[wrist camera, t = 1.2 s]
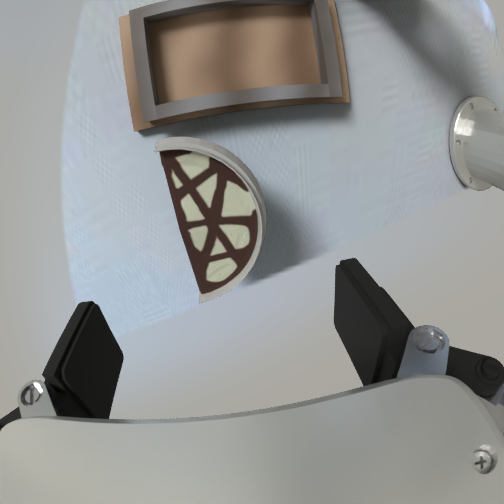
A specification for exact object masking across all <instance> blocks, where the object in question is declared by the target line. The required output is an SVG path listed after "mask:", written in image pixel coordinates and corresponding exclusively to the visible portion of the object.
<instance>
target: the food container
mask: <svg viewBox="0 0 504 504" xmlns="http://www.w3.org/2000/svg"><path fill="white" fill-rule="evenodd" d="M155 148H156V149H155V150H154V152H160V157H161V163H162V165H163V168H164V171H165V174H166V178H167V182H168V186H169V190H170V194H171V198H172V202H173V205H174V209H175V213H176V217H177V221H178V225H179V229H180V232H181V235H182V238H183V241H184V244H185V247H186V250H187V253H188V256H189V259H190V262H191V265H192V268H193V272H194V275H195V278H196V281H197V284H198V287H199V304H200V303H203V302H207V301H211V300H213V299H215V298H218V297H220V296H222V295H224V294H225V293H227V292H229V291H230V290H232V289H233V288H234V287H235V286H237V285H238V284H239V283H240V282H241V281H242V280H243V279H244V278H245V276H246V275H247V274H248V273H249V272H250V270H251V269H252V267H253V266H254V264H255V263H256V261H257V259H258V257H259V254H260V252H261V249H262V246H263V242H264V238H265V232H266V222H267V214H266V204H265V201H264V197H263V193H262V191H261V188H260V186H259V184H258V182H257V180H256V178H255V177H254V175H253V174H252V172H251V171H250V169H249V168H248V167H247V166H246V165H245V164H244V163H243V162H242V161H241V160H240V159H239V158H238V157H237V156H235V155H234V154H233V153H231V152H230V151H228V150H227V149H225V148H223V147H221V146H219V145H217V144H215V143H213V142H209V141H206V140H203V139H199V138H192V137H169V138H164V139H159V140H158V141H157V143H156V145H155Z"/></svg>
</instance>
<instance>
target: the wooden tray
mask: <svg viewBox="0 0 504 504" xmlns="http://www.w3.org/2000/svg"><path fill="white" fill-rule="evenodd" d="M119 25H120V36H121V46H122V55H123V64H124V71H125V79H126V86H127V92H128V99H129V105H130V111H131V117H132V122H133V128H134V132H135V131H139V130H143V129H147V128H151V127H155V126H159V125H164V124H168V123H173V122H177V121H182V120H187V119H192V118H197V117H203V116H208V115H214V114H220V113H227V112H233V111H240V110H248V109H256V108H265V107H275V106H286V105H300V104H318V103H350V99H349V89H348V81H347V73H346V65H345V58H344V51H343V45H342V39H341V33H340V27H339V22H338V17H337V12H336V7H335V2H334V0H167V1H163V2H159V3H155V4H151V5H147V6H144V7H140V8H137V9H133V10H130V11H129V14H128V15H125V16H122V17H119Z"/></svg>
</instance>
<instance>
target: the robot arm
mask: <svg viewBox="0 0 504 504" xmlns="http://www.w3.org/2000/svg"><path fill="white" fill-rule="evenodd" d="M449 147H450V156H451V160H452V164H453V167H454V170H455V172H456V174H457V176H458V178H459V179H460V180H461V181H462V183H464V184H465V185H466V186H467V187H470V188H472V189H474V190H478V191H481V190H486V189H488V188H490V187H491V186H495V187H497V188H499V189H502V190H504V112H500V111H499V109H498V108H497V107H496V106H495V104H494V103H493V102H491V101H490V100H489V99H487V98H484V97H479V96H473V97H469V98H467V99H465V100H464V101H463V102H462V103H461V104H460V105H459V106H458V108H457V109H456V112H455V114H454V116H453V119H452V123H451V128H450V136H449ZM334 324H335V328H336V330H337V332H338V334H339V336H340V338H341V340H342V342H343V344H344V346H345V348H346V350H347V352H348V354H349V356H350V358H351V360H352V362H353V365H354V367H355V369H356V371H357V373H358V375H359V377H360V379H361V381H362V383H363V387H360V388H356V389H352V390H348V391H345V392H340V393H337V394H332V395H329V396H324V397H320V398H315V399H311V400H307V401H303V402H297V403H293V404H287V405H282V406H277V407H271V408H266V409H259V410H253V411H247V412H239V413H231V414H223V415H214V416H203V417H190V418H176V419H147V420H146V419H145V420H144V419H143V420H125V419H123V420H122V419H109V415H110V411H111V406H112V403H113V398H114V394H115V390H116V386H117V382H118V378H119V374H120V371H121V367H122V363H123V353H122V351H121V349H120V347H119V345H118V343H117V341H116V339H115V337H114V336H113V334H112V332H111V330H110V328H109V326H108V324H107V322H106V320H105V318H104V316H103V314H102V312H101V310H100V307H99V306H98V305H97V304H95V303H94V302H93V301H88V302H81V303H79V304H78V306H77V308H76V309H75V311H74V313H73V315H72V316H71V318H70V320H69V322H68V324H67V326H66V328H65V329H64V331H63V333H62V335H61V337H60V339H59V341H58V343H57V345H56V347H55V349H54V351H53V353H52V355H51V357H50V359H49V361H48V363H47V365H46V367H45V369H44V371H43V374H42V375H43V377H44V378H45V382H42V381H41V380H32V381H30V382H28V383H27V384H26V385H24V386H23V388H22V389H21V390H20V392H19V395H18V405H19V407H18V408H16V409H15V410H13V411H12V412H10V413H9V414H8V415H6V416H5V417H3V418H2V419H0V504H504V367H503V365H502V364H501V363H500V362H499V361H498V360H497V359H495V358H492V357H490V356H485V355H482V354H477V353H474V352H470V351H466V350H462V349H459V348H455V347H451V346H449V339H448V337H447V335H446V334H445V333H444V332H443V331H442V330H440V329H439V328H437V327H434V326H429V325H424V326H419V327H416V328H415V327H414V326H413V325H412V323H411V322H410V321H409V320H408V318H407V317H406V316H405V315H404V313H403V312H402V311H401V310H400V308H399V307H398V306H397V304H396V303H395V302H394V301H393V299H392V298H391V297H390V296H389V295H388V293H387V292H386V291H385V290H384V289H383V288H382V287H379V286H378V284H377V283H376V282H375V281H374V279H373V278H372V277H371V276H370V275H369V273H368V272H367V271H366V270H365V269H364V267H363V266H362V265H361V264H360V263H359V261H358V260H357V259H355V258H352V259H346V260H342V261H340V265H336V273H335V305H334Z"/></svg>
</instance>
